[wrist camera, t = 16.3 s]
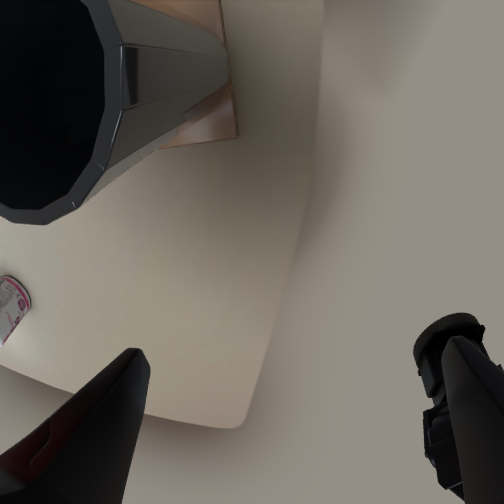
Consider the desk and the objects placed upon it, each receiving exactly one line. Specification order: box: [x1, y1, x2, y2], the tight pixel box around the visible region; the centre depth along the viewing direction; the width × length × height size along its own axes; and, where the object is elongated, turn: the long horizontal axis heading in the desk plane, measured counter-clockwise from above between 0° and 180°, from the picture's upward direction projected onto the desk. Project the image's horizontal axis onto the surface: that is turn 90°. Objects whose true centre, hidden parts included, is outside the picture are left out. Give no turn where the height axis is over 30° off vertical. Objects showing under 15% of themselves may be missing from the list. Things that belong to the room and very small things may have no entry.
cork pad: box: [156, 0, 238, 150], centre depth 15 cm, size 11×13×1 cm
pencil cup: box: [0, 0, 230, 225], centre depth 10 cm, size 7×7×12 cm
